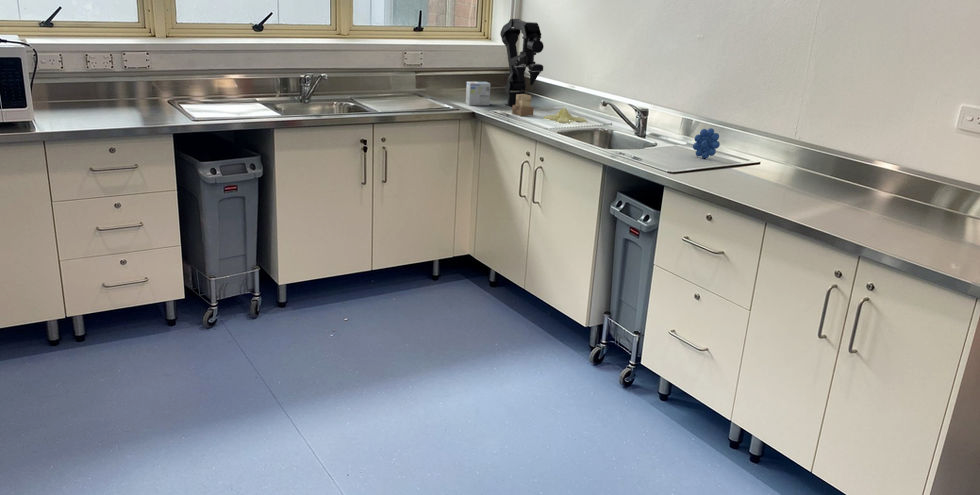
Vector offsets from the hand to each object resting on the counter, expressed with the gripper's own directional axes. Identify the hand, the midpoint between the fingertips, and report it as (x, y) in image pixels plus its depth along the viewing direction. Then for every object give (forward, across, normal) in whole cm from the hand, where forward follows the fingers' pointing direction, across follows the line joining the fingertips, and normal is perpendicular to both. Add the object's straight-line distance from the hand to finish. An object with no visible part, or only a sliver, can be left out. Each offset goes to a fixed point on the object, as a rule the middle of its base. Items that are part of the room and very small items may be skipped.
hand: (525, 83), depth 389 cm
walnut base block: (+12, +10, -7) cm, 17 cm away
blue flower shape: (+11, +107, +12) cm, 109 cm away
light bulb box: (+13, -20, -14) cm, 28 cm away
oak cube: (+8, +10, -7) cm, 15 cm away
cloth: (+13, +24, +5) cm, 28 cm away
